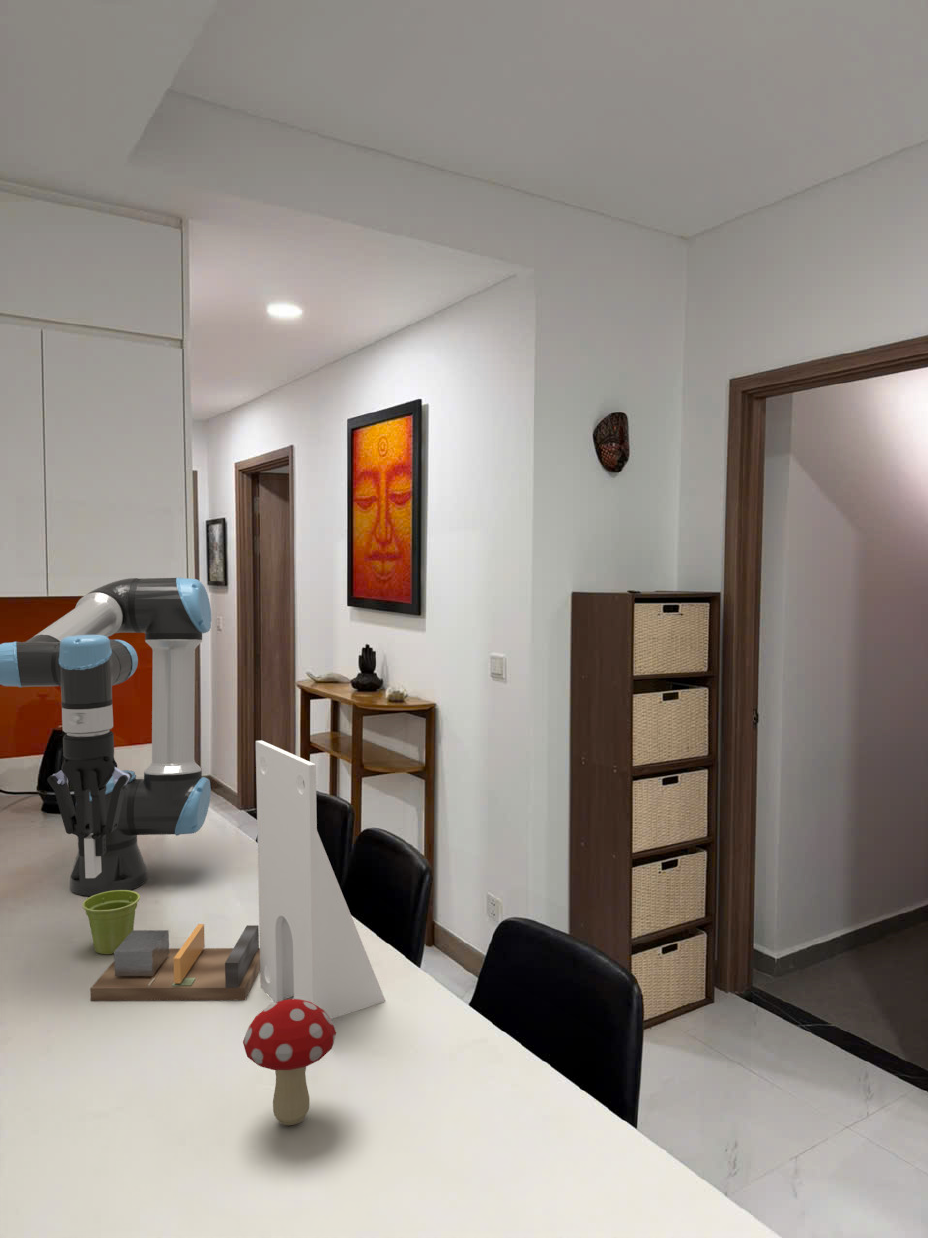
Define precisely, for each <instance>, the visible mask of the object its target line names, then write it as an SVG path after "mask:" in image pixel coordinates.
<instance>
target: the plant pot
mask: <svg viewBox="0 0 928 1238" xmlns="http://www.w3.org/2000/svg"><path fill="white" fill-rule="evenodd" d="M140 897H141V895H140V894H139V893H138V892H136V891H134V890H114V891H107V892H103V893H99V894H96V895H93V896H88V897H87V898H86V899H85V900H84V901H83V902H82V908H83V910H84V911H85V914H86V916H87V919H88V922H89V927H90V928H89V929H90V932H91V936H92V942H93V947H94V951H95V952H96V953H98V954H101V955H112V954H114V951H115V950H116V949H117V948H118V947H119V945H120V944H121V943H122V942H123V941H124V940H125V939H126V938H127V936H128V935H129V934H130V933H131V932H132V931H133V930H134V925H135V915H136V909H137V907H138V903H139V901H140Z"/></svg>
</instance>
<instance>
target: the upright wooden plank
mask: <svg viewBox="0 0 928 1238" xmlns="http://www.w3.org/2000/svg"><path fill="white" fill-rule="evenodd" d="M205 940H206V938H205V924H204V923H198V924H197V925H196V926H195V928H194V929H193V931H192V932H191V933H190V935H189V936H188V937H187V939H186V941H184V943H183V944H182V946H181V947H180V948H181V949H180V950H179V951H178V953H177V954H176V956H175V957H174V958H173V960H174V983H181V982H182V980H183V979H184V977H185V976H186V974H187V973H188V971H189V970H190V968H191V967H192V965H193V964H194V962H195V961H196V959H197V958H198V956H199V955H200V953H201V952H202V950H203V949H204V948H206V947H205V946H206V944H205V942H206V941H205Z"/></svg>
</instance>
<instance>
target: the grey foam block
mask: <svg viewBox="0 0 928 1238" xmlns="http://www.w3.org/2000/svg"><path fill="white" fill-rule="evenodd" d="M169 933H170V931H169V930H168V929H166V930H163V929H162V930H161V929H160V930H159V929H156V930H155V929H154V930H150V929H149V930H146V929H145V930H143V929H142V930H137V929H136V930H134V929H133V931H132V932H131V933H130V934H129V935H128V936H127V938H126V939H125V940H124V941H123V942H122V943H121V944H120V945H119V947H118V948H117V949H116V950H115V951H114V953H113V954H114V956H113V958H114V959H113V960H114V961H113V962H114V965H115V976H153V975H154V973H155V972H156V971H157V969H158V968H159V967H160V965H161V964H162V963H163V961H164V960H165V959H166V957H167V956H168V954H169V949H170V936H169V935H170V934H169Z"/></svg>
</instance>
